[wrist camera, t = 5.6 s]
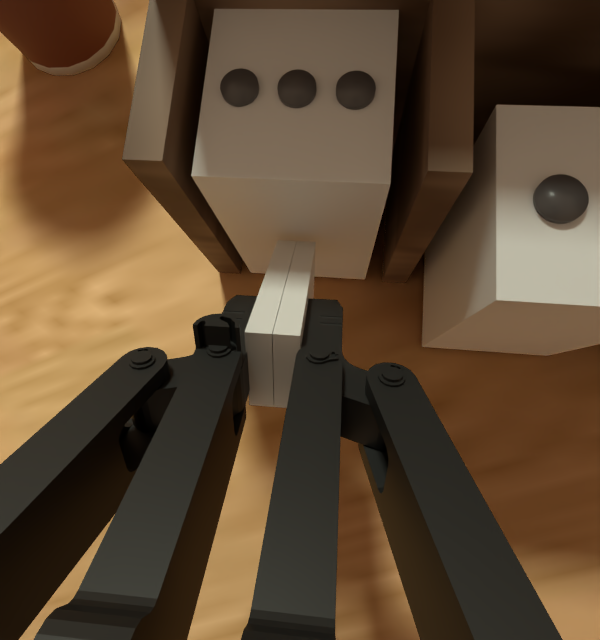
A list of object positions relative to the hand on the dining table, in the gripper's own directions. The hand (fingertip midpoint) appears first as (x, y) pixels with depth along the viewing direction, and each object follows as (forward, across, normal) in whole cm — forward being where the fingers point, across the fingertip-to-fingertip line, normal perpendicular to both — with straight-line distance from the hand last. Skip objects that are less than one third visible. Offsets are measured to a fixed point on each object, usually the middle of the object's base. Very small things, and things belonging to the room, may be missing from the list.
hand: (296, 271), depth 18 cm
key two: (+4, +9, -2) cm, 10 cm away
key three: (+6, 0, 0) cm, 6 cm away
